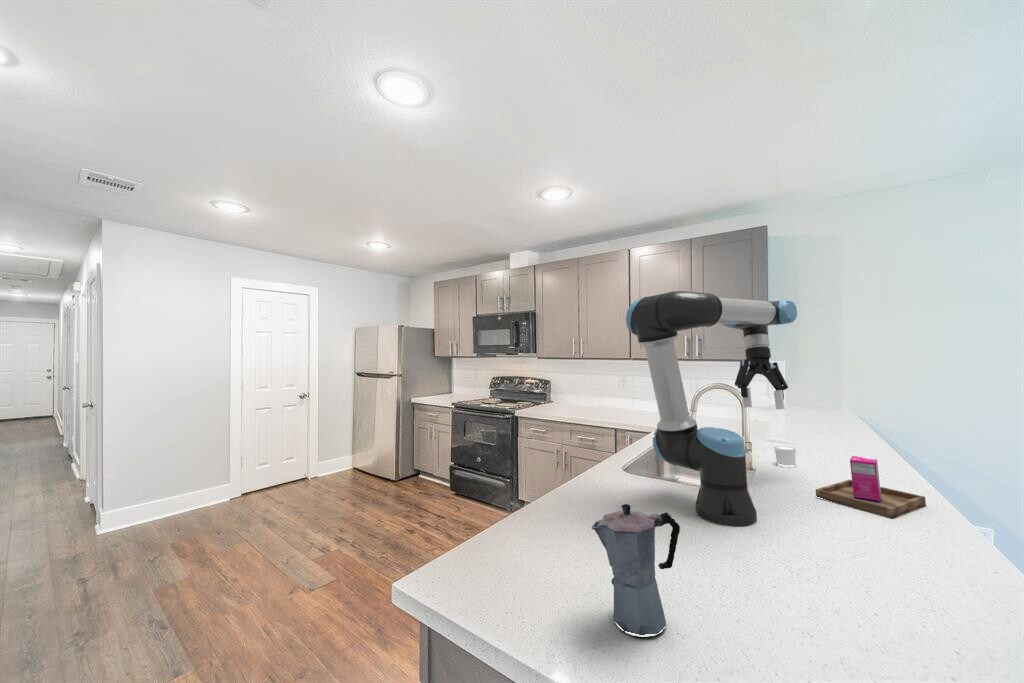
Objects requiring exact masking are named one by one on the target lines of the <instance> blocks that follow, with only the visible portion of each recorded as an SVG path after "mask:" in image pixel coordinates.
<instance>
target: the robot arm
mask: <svg viewBox="0 0 1024 683" xmlns="http://www.w3.org/2000/svg"><path fill="white" fill-rule="evenodd" d="M797 316H798V308H797V305H796V303H795V302H794V301H793V300H791V299H780V300H776V301H774V300H772V301H771V300H767V301H766V300H757V299H756V300H755V299H744V298H743V299H742V298H741V299H740V298H729V297H728V298H727V297H719V296H718V295H717V294H714V293H710V292H697V291H685V290H675V291H669V292H664V293H660V294H655V295H651V296H644V297H642V298H639V299H636V300H634V301H633V302H632V303H631V304H630V305H629V307H628V309H627V311H626V315H625V324H626V327H627V329H628V331H630V332H631V334H633V335H634V336H636V337H637V341H638V344H639V345H641V346H643V347H644V349H645V355H646V359H647V363H648V364H647V365H648V368H649V372H650V377H651V382H652V383H651V384H652V386H653V391H654V396H655V400H656V405H657V409H658V410H657V411H658V413H659V414H658V415H659V418H660V419H659V422H658V423H657V424H656V429H655V431H654V433H653V436H652V447H653V449H654V452H655V454H656V455H657V456H658V458H659V459H660V460H662V461H664V462H665V463H668V464H670V465H672V466H677V467H681V468H686V469H689V470H693V471H697V472H699V480H700V486H699V489H698V493H697V497H696V501H695V504H694V508H695V513H696V515H697V516H698V517H700V518H702V519H703V520H706V521H708V522H710V523H714V524H718V525H724V526H731V527H744V526H751V525H753V524H755V523H756V522H758V516H757V515H758V513H757V509H756V507H755V506H754V503H753V500H752V497H751V495H750V493H749V492H750V491H749V489H748V476H747V460H746V458H747V457H746V454H747V453H746V452H747V451H746V449H745V442H744V438H742V436H741V435H740V434H739V433H737V432H735V431H732V430H730V429H726V428H720V427H718V428H717V427H712V426H711V427H710V426H707V427H706V426H704V427H701V428H698V424H697V423H698V422H697V420H696V419H695V418H693V417H692V416H690V412H689V406H688V402H687V399H686V398H687V397H686V393H685V388H684V384H683V379H682V373H681V370H680V365H679V361H678V356H677V352H676V351H677V350H676V346H675V341H676V339H677V338H678V336H679V334H678V332H681V331H687V330H691V329H695V328H696V329H697V328H705V327H706V328H708V327H709V328H710V327H713V326H715V325H716V324H720V325H722V326H724V327H727V328H731V329H736V330H740V331H742V334H743V342H744V348H745V350H744V351H745V354H744V355H745V359H742V360H740V361H739V369H738V372H737V375H736V378H735V382H734V385H735V386H736V387H737V388H738V389H740V396H741V397H742V403H743V408H753V403H752V395H751V387H748V386H749V385H750V383H751V382H752V380H753V379H754V377H755V376H756V375H762V376H763V377H765V378H766V379H767V381H768V383H769V384H770V385H771V386H772V387H773V389H775V390H773V394H774V395H773V396H774V402H775V403H774V404H775V410H785V409H786V408H785V401H784V400H785V394H784V393H785V392H784V391H786V390H787V389H789V386H788V383H787V382H786V380H785V377H784V376H783V374H782V372H781V371H780V368H779V365H778V364H779V363H778V362H777V361H776V362H770V359H771V357H772V354H771V348H770V339H769V333H768V326H777V325H786V324H787V325H788V324H791V323H794V322H795V321H796V319H797Z"/></svg>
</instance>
